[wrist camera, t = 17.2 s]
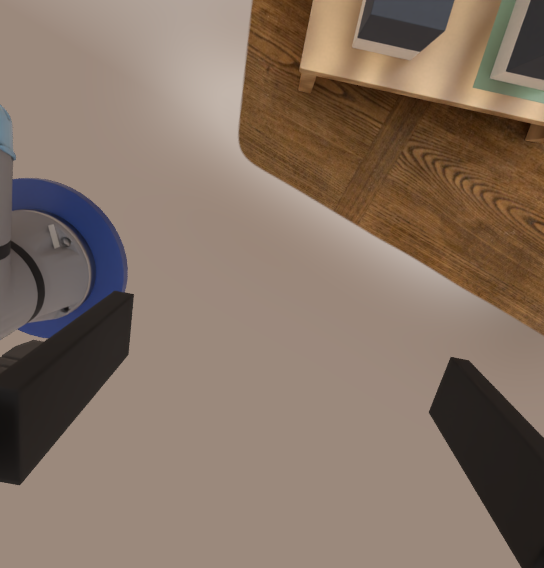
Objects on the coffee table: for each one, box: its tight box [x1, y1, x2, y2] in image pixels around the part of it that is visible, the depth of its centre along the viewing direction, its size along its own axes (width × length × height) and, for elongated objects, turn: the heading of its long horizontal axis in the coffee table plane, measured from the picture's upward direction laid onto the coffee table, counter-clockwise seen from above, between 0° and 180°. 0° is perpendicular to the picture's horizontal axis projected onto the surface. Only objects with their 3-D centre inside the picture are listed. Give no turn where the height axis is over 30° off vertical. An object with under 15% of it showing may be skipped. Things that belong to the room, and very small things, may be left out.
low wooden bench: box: [298, 0, 544, 143], centre depth 36 cm, size 30×18×10 cm, turn 79°
